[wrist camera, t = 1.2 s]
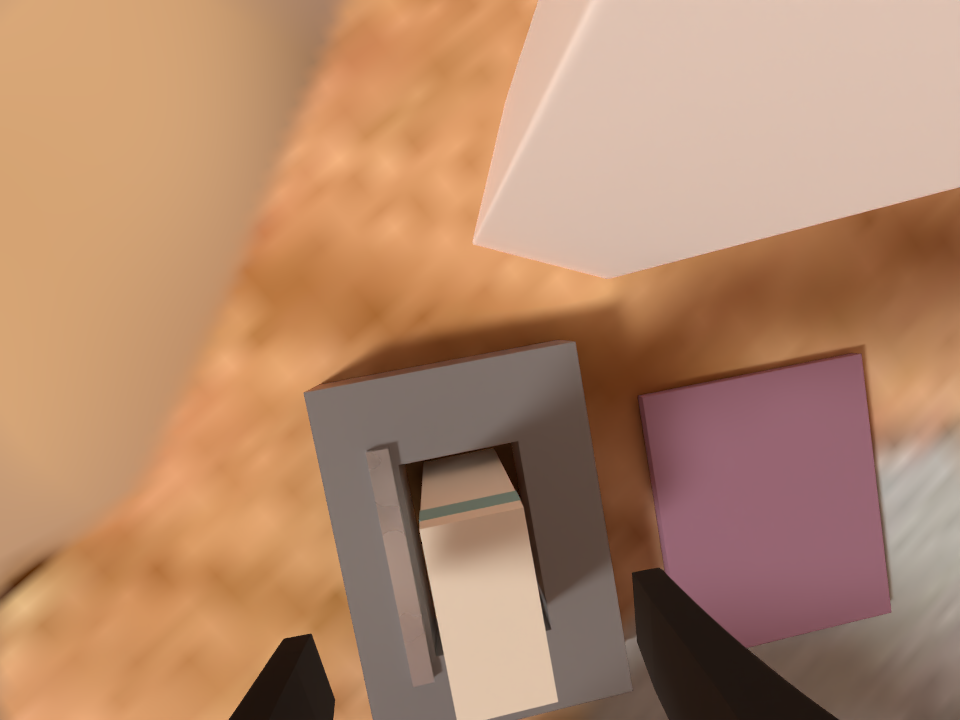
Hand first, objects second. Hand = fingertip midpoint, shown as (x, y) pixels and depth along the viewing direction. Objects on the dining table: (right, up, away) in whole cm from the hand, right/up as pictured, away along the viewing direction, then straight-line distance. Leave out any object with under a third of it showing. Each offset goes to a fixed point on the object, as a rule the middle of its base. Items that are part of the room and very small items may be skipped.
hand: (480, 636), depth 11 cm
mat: (+13, 0, +11) cm, 17 cm away
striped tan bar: (0, -1, +10) cm, 10 cm away
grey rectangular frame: (0, -1, +10) cm, 10 cm away
